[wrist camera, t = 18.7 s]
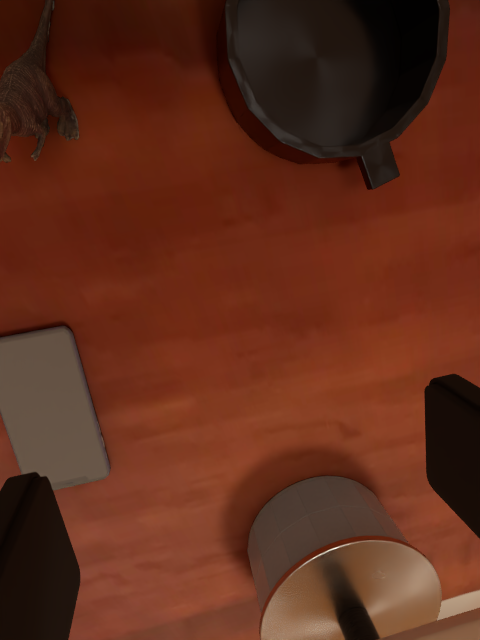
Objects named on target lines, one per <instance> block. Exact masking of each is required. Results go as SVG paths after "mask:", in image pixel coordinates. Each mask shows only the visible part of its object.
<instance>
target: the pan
mask: <svg viewBox="0 0 480 640" xmlns="http://www.w3.org/2000/svg"><path fill="white" fill-rule="evenodd" d="M449 14H450V8H449V2H448V0H226V3H225V6H224V10H223V13H222V17H221V21H220V24H219V28H218V31H217V63H218V71H219V81H220V84H221V86H222V90H223V93H224V95H225V98H226V101H227V104H228V106H229V108H230V109H231V111H232V113H233V115H234V117H235V119H236V121H237V122H238V123H239V124H240V126H241V127H242V129H243V130H244V131H245V132H246V133H247V134H248V135H249V137H250V138H251V139H253V140H254V141H255V142H256V143H257V144H258V145H259V146H261V147H262V148H263V149H264V150H266V151H268V152H270V153H272V154H274V155H276V156H278V157H280V158H282V159H285V160H288V161H292V162H295V163H297V164H320V163H336V162H340V161H344V160H348V159H352V158H356V159H357V162H358V164H359V167H360V170H361V173H362V176H363V179H364V181H365V184H366V187H367V189H368V190H370V189H375V188H377V187H379V186H381V185H383V184H385V183H387V182H389V181H391V180H393V179H395V178H397V177H399V176H400V174H399V171H398V168H397V165H396V161H395V158H394V155H393V152H392V149H391V146H390V143H389V142H390V141H392V140H394V139H396V138H398V137H399V136H400V135H401V134H402V133H403V131H404V130H405V129H406V128H407V127H408V126H409V125H410V123H411V122H412V121H413V120H414V119H415V118H416V117H417V116H418V114H419V113H420V112H421V111H422V110H423V109H424V108H425V106H426V105H427V104H428V102H429V100H430V97H431V95H432V93H433V90H434V88H435V85H436V83H437V80H438V78H439V75H440V73H441V70H442V68H443V65H444V63H445V61H446V56H447V42H448V28H449Z"/></svg>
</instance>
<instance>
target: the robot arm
mask: <svg viewBox="0 0 480 640" xmlns="http://www.w3.org/2000/svg"><path fill="white" fill-rule="evenodd" d="M425 431H426V473H427V478H428V481H429V484H430V485H431V487H432V488H433V490H434V491H435V492H436V493H437V494H438V495H439V496H440V497H441V498H442V499H443V500H444V501H445V502H446V503H447V504H448V505H449V507H450V508H451V509H452V510H453V511H454V512H455V513H456V514H457V515H458V516H459V517H460V518H461V519H462V520H463V521H464V522H465V523H466V525H467V526H468V527H469V528H470V529H471V530H472V531H473V532H474V533H475V534H476V535H477V536H478V537H479V538H480V388H479V387H477V386H476V385H474V384H472V383H471V382H469V381H467V380H465V379H464V378H462V377H460V376H459V375H456V374H450V375H446V376H442V377H438V378H433V379H432V380H431V381H430V383H429V386H427V387H426V388H425ZM79 586H80V569H79V565H78V562H77V559H76V556H75V553H74V550H73V548H72V545H71V542H70V539H69V536H68V533H67V530H66V527H65V524H64V521H63V518H62V516H61V513H60V510H59V507H58V504H57V501H56V498H55V495H54V492H53V489H52V486H51V483H50V481H49V479H48V477H47V476H43V477H40V475H39V474H38V473H37V472H31V473H27V474H23V475H19V476H14V477H10V478H8V479H7V480H6V482H5V484H4V485H3V487H2V489H1V491H0V640H68V638H69V634H70V629H71V624H72V619H73V615H74V610H75V605H76V600H77V596H78V591H79ZM377 640H480V608H477V609H474V610H471V611H467V612H464V613H461V614H458V615H455V616H451V617H448V618H445V619H442V620H438V621H435V622H432V623H428V624H425V625H422V626H419V627H416V628H412V629H409V630H406V631H403V632H400V633H397V634H393V635H390V636H387V637H384V638H381V639H377Z"/></svg>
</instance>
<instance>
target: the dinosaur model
mask: <svg viewBox="0 0 480 640" xmlns="http://www.w3.org/2000/svg"><path fill="white" fill-rule="evenodd" d="M52 2H53V10H54V1H53V0H46V1H45V7H44V10H43V12H42V15H41V19H40V23H39V27H38V29H37V32H36V34H35V37H34V40H33V41H32V43H31V46H30V48H29V49H28V50H27V51H26V53H24V54H23V55H22V56H21V57H20V58H19V59H18V60H16V61H14V62H13V63H11V64H10V65H9V66H8V67H7V68H6V69H5V71H4V73H3V75H2V77H1V80H0V161H2V160H3V161H4V162H6V163H8V162H11V158H10V157H9V156H8V155H7V154H6V152H5V151H6V149H7V146H8V143H9V141H10V138H11V136H19V137H29V136H32V135H35V137H36V138H38V143H37V147H36V149H35V151H34V152H33V153H32V155H31V157H32V158H33V157H34V160H35V161H36V160H37V158H38V157H39V155H40V152H41V149H42V147H43V146H44V142H45V136H46V135H47V134H48V133H49V129H50V127H49V125H48V119H47V117H48V115H52V116H54V117H59V121H58V124H57V125H58V126H57V130H58V133H59V134H60V135H61V136H65V138H66V140H71V139H72V138H75V140H78V138H79V130H78V122H77V118H76V115H75V113H74V111H73V109H72V106H71V104H70V102H69V99H66V98H64V97H63V96H62V97H61V98H60V97H58V96H57V94H56V91H55V89H54V87H53V85H52V83H51V81H50V79H49V78H48V76H47V75H46V69H45V57H46V43H47V36H48V42H49V31H48V30H49V27H50V24H49V23H50V16H51V9H52Z"/></svg>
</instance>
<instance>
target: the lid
mask: <svg viewBox="0 0 480 640" xmlns="http://www.w3.org/2000/svg"><path fill="white" fill-rule="evenodd" d="M441 595H442V592H441V585H440V581H439V578H438V575H437V573H436V571H435V569H434V567H433V566H432V564H431V563H430V562H429V560H428V559H427V558H426V557H425V555H424V554H422V553H421V552H420V551H419V550H418V549H417V548H415V547H413V546H412V545H410V544H408V543H406V542H404V541H401V540H399V539H395V538H391V537H385V536H357V537H351V538H347V539H342V540H339V541H336V542H333V543H330V544H328V545H325V546H323V547H321V548H319V549H317V550H315V551H313V552H312V553H310V554H308V555H307V556H305V557H304V558H302V559H301V560H300V561H298V562H297V563H296V564H294V565H293V566H292V567H291V568H290V569H289V570H288V571H287V572H286V573H285V574H284V575H283V576H282V577H281V578H280V579H279V581H278V582H277V583H276V585H275V586H274V587H273V589H272V590H271V592H270V594H269V596H268V598H267V600H266V602H265V604H264V607H263V610H262V613H261V618H260V626H259V634H260V640H377V639H381V638H384V637H387V636H390V635H393V634H397V633H400V632H403V631H406V630H409V629H412V628H416V627H419V626H422V625H425V624H428V623H432V622H435V621H437V618H438V615H439V612H440V607H441Z"/></svg>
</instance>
